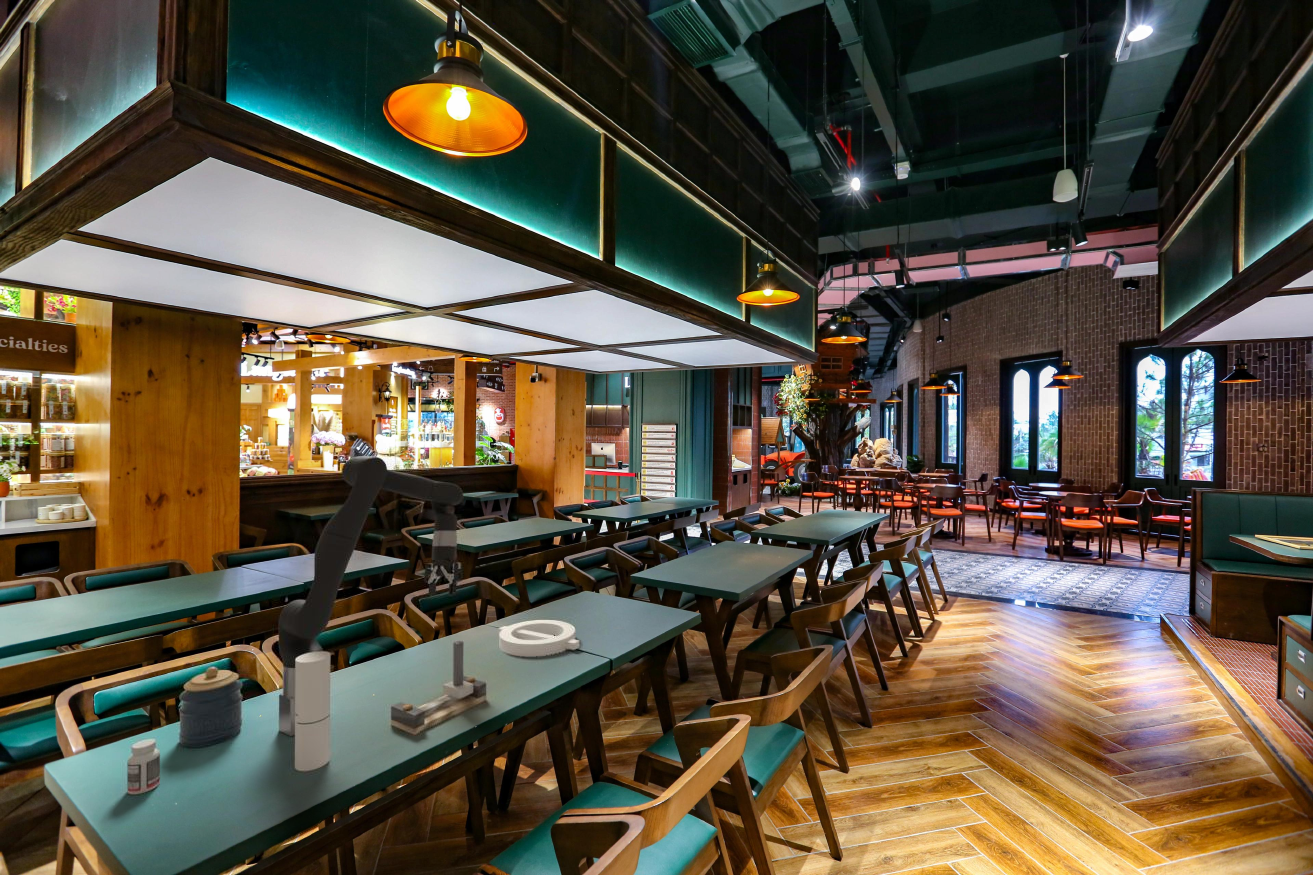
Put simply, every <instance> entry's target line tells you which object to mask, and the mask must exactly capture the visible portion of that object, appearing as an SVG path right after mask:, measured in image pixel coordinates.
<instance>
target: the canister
mask: <svg viewBox="0 0 1313 875" xmlns="http://www.w3.org/2000/svg"><path fill="white" fill-rule="evenodd" d="M239 677H240V675H239V673H236V672H234V671H231V670H227V669H218V668H217V667H215V666H210V667H208V668H207V669H206V671H205V672H203V673H201V674H198V675H195V676H193V677H192V678H191V679H190V680H189V681H187V682H186V683H185V684H184V685H183V689H184V691H182V692H181V693H180V695H179V700H180V701H181V706H180V707H179V709H178V711H179V733H178V736H179V737H178V739H179V743H180V745H181V746H182V747H185V748H191V749H192V748H204V747H208V746H213V745H217V744H220V743H222V742H225V741H228V740H229V739H232V738H233V737H235V736H236V735H237V734H239V733H240V731H241V729H242V726H243V717H242V714H243V713H242V709H243V708H242V703H243V701H242V700H243V694H242V693H241V689H242V687H243V682H242V681H240V680H239Z"/></svg>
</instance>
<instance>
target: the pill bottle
mask: <svg viewBox="0 0 1313 875" xmlns="http://www.w3.org/2000/svg"><path fill="white" fill-rule="evenodd" d="M160 751H161V750H159V748H158V749H157V741H156V739H154V738H149V739H147V738H146V739H143V740H140V741H138V742H135V743H134V744H132V745H131V755H130V756H129V757H128V758H127V761H126V762H127V763H126V764H127V766H126V768H127V771H126V772H127V773H126V775H127V777H126V778H127V779H126V781H127V784H126V785H127V788H126V789H127V794H129V795H140V794H144V793H146V792H147V793H148V792H150V791H152V790H153V789H155V788H157V787H158V786H159V785H160V782H161V774H160V773H161V752H160Z"/></svg>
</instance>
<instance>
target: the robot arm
mask: <svg viewBox="0 0 1313 875" xmlns="http://www.w3.org/2000/svg"><path fill="white" fill-rule="evenodd" d="M341 476H342V479H343V481H344V482H345V483H346V484H347V485H349V486H352V488H351V491H350V494H349V495H348V497H347V499H346V500H345V502H344V503H343V505H342V506H341V507H340V508H339V509H338V510H337V511H336V512H335V513H334V515H333V516H332V517H331V518H330V519H329V520H328V522H327V523H326V525H325V526H324V527H323V530H322V533H321V534H320V537H319V539H318V541H317V544H316V547H315V550H314V556H313V557H314V558H313V560H314V561H313V562H314V563H313V566H314V570H313V571H314V575H313V582H312V585H311V588H310V589H309V590H310V591H309V592H308V595H307V597H306V599H295V600H292V601H290V602H289V603H287V604H286V605H285V606H284V607H283V609H282V610H281V612H280V614H279V617H278V624H277V625H278V628H277V629H278V631H277V632H278V649H279V655H280V657H281V659H282V692H281V693H280V694H279V695H278V731H280V732H281V733H283V734H286V735H287V736H288V737H292V736H295V659H296V658H297V657H299V656H301V655H303V654H306V653H311V652H318V651H324V650H323V647H322V646H321V644H320V643H319V642H318V641H317V637H319V636H320V635H321V634H322V633H323V632H324V630H326V628H327V627H328V625H329V622H330V619H331V616H332V613H333V609H334V606H335V603H336V599H337V595H338V592H339V589H340V586H341V583H342V580H343V578H344V575H345V573H346V570H347V567H348V565H349V562H350V559H351V558H352V555H353V553H354V551H355V548H356V545H357V543H358V541H359V538H360V535H361V532H362V529H363V527H364V524H365V523H366V520H367V519H368V515H369V513H370V511H371V509H372V506H373V504H374V502H375V500H376V498H377V496H378V494H379V493H380V491H381V490H386V491H389V492H392V493H395V494H400V495H403V496H407V497H409V498H414V499H417V500H422V501H426V502H429V501H430V502H431V507H432V513H433V517H434V525H433V526H434V527H433V530H434V531H433V537H432V549H431V550H432V552H431V560H432V561H433V563H432V562H431V563H428V562H427V563H426V564H425V566H424V578H423V581H424V582H425V583H427V584H428V595H429V596H430V597H431V596H432V597H433V596H436V594H437V584H436V583H437V582H438V581H439V579H440V578H442V577H445V578H446V579H447V580H448V582H449V584H448V596H449V597H453V596H454V597H455V595H456V594H457V584H458V583H460V582H462V581H463V563H462V562H455V560H456V558H457V547H458V545H457V544H458V543H457V542H458V536H457V535H458V534H457V532H458V531H457V528H458V527H457V526H458V525H457V524H458V517H457V515H456V514H455V513H451V511H450V507H451V506H457V505H459V504H460V503H461V502H462V501H463V499H464V492H463V490H462V488H461V487H460V486H459V485H457V484H455V483H451V482H444V481H436V480H432V479H431V478H427V477H423V476H420V475H415V474H412V473H405V472H400V471H394V470H391V469H388V467H387V464H386V462H385V461H384V460H383V459H382V458H381V457H379V456H378V457H377V456H371V455H370V456H368V455H367V456H363V455H361V456H359V455H358V456H353V457H352V458H349V459H348V460H346V461H345V463H344V464H343V465H342V469H341Z"/></svg>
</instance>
